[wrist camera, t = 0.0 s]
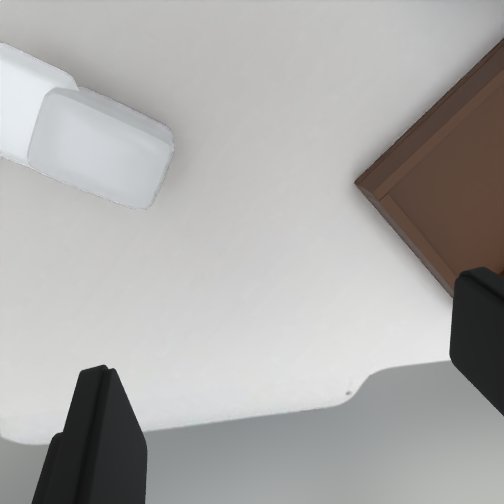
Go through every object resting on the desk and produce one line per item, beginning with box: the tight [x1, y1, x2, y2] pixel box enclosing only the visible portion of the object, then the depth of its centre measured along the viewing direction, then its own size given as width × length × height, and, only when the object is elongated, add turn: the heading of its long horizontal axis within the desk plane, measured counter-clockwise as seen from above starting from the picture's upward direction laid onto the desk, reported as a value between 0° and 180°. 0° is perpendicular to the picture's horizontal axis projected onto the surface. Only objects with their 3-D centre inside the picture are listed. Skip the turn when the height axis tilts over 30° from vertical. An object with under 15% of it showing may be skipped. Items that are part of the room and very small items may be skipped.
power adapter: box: [0, 42, 174, 210], centre depth 19 cm, size 11×5×6 cm, turn 63°
